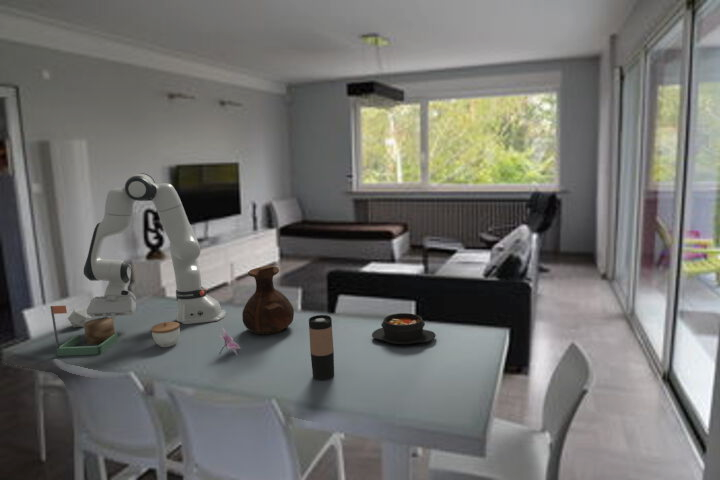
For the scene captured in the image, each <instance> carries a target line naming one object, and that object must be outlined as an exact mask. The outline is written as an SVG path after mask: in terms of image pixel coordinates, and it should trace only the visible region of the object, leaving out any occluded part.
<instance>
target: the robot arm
mask: <svg viewBox="0 0 720 480" xmlns="http://www.w3.org/2000/svg"><path fill="white" fill-rule="evenodd" d="M139 201H140V202H144V201H145V202H146V201H147V202H150V201H151V202H152V203H153V205H154V207H155V209H156V213H157V215H158V218H159V220H160V222H161V225H162V227H163V230H164V232H165V234H166V236H167V238H168V240H169V250H170V255H171V261H172V267H173V270H174V271H173V272H174V278H175V286H176V288H175V298H176V302H177V314H176V319H175V320H176V322H177V323H182V325H191V324H202V323H210V322H218V321H220V320H223V319H224V318H225V317H226V315H227V311H226V309H222V308H221V305H220V302H219V301H218V300H217V299H215V298H213V297H211V296H210V295H208V294H207V290H208V288H207V287H203V286H202V279H201V277H202V276H201V270H200V266H199V262H198V258H199V257H200V254H201V246H200V242H199V241H198V239H197V237H196V234H195V231H194V230H193V228H192V224H190V221H189V218H188V216H187V214H186V210H185V208H184V206H183V202H182V201H181V198H180V196H179V194H178V191H177V190H176V189H175V187H174V186H173V185H172V184H171V183H167V182H163V183H156V182H155V180H154V178H153V177H152V176H151V175H149V174H147V173H145V172H144V173H136V174H133V175H131V177H130V176H129V178H128V179H127V180H126V182H125V184H124V187H114V188H112V189H109V191H108V192H107V195H106V199H105V204H104V205H105V207H104V215H103V218H102V220H101V221H100V222H98V223H97V224H96V225H95V227H94V229H93V233H92V237H91V240H90V244H89V250H88V253H87V257H86V261H85V263H84V266H83V275H84V276H85V278H86V279H87V280H89V281H90V282H92V281H99V282H100V281H106V282H108V285H107V286H106V288H105V291H104V295H101V296H95V297H93V298H91V300H90V302H89V304H88V305H87V306H88V307H87V309H86V310H87V311H86V312H87V314H88V315H89V316H90V317H91V318H93V317H101V318H112V319H113V321H115V319H116V318H117V316H118V317H119V316H133V315H134V314H135V312H136V308H137V304H136V301H137V296H135V295H134V294H133V292H132V291H130V290H128V287H129V285H130V282H131V279H132V275H133V269H132V266H131V264H130V263H128V262H127V261H126V260H123V259H108V258H102V257H101V256H100V255H101V251H102V247H103V243H104V240H105V239H106V238H107V237H110V236H114V235H119V234H122V233H125V232H126V231H127V230H129V228H130V227H131V226H132V222H133V215H134V213H133V209H134V203H135V202H139Z"/></svg>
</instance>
